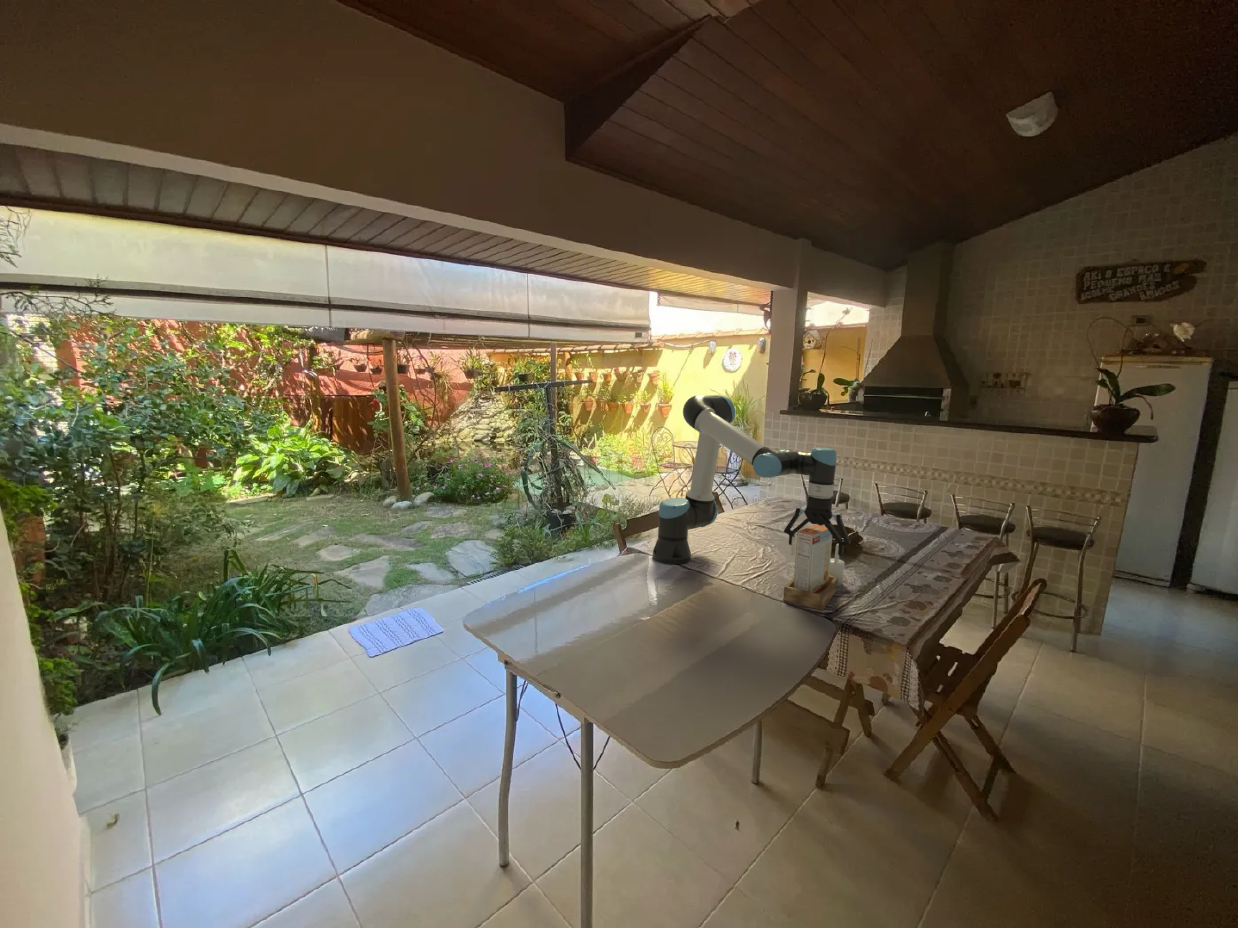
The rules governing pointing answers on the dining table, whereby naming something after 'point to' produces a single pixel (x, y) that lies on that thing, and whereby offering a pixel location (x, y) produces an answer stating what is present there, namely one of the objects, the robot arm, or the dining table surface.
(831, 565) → the cream rounded shape
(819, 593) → the tray
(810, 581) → the cracker box
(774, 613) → the dining table surface
